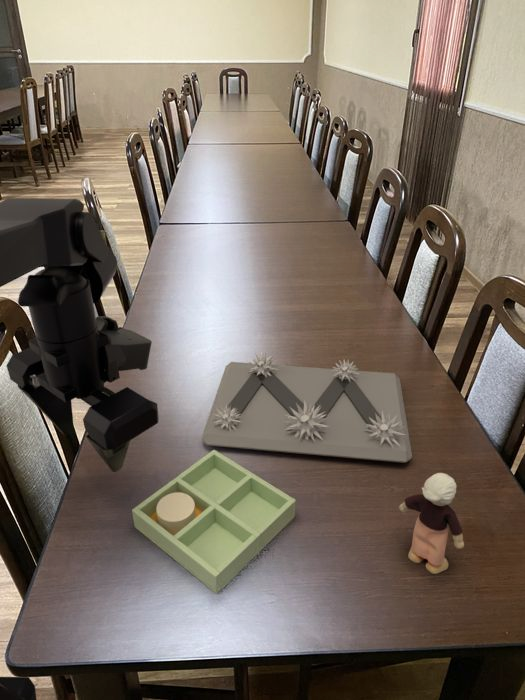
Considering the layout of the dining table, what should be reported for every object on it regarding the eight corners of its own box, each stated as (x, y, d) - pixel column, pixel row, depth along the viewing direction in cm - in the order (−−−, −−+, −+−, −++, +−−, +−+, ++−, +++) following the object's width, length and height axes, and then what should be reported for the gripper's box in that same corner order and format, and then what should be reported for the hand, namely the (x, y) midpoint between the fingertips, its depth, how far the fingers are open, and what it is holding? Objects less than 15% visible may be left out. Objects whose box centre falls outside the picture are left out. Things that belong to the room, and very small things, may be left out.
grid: (216, 594, 58) (215, 576, 57) (134, 526, 66) (131, 509, 64) (295, 516, 68) (296, 499, 66) (214, 465, 75) (213, 449, 74)
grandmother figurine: (460, 560, 62) (485, 480, 56) (451, 585, 59) (476, 504, 53) (397, 531, 66) (413, 453, 59) (385, 553, 63) (401, 474, 56)
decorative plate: (397, 382, 93) (403, 347, 89) (411, 470, 75) (419, 430, 71) (227, 369, 96) (226, 335, 92) (200, 450, 78) (197, 411, 74)
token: (175, 541, 63) (174, 528, 62) (150, 521, 66) (148, 508, 65) (203, 518, 66) (202, 504, 65) (178, 500, 69) (176, 486, 68)
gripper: (194, 328, 52) (202, 450, 60) (82, 277, 62) (102, 387, 70) (97, 378, 45) (121, 508, 53) (-12, 310, 55) (22, 429, 63)
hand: (91, 450), depth 60 cm, fingers open, 9 cm apart
